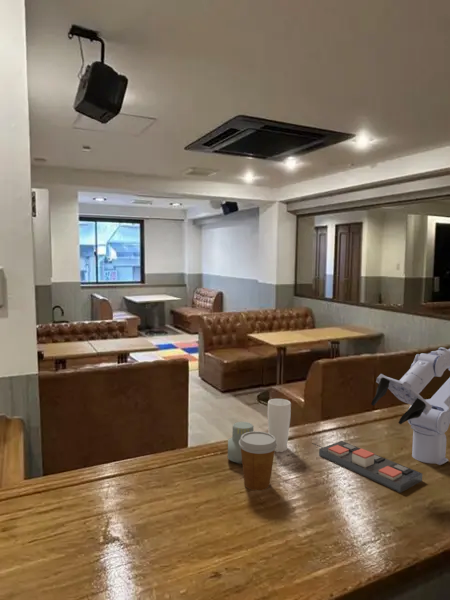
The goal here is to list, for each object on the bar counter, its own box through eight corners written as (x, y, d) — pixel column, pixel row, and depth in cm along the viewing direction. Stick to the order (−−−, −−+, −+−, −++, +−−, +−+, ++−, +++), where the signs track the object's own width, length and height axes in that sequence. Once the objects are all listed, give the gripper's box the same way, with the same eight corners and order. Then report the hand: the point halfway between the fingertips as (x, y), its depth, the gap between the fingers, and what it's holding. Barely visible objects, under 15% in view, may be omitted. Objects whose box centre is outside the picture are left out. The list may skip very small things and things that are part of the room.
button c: (387, 476, 112) (387, 465, 112) (401, 482, 109) (402, 471, 109) (378, 480, 110) (378, 470, 110) (392, 487, 107) (393, 476, 106)
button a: (336, 454, 125) (337, 444, 125) (348, 459, 122) (348, 449, 122) (327, 457, 123) (328, 448, 122) (339, 463, 119) (339, 453, 119)
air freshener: (258, 468, 118) (258, 432, 117) (227, 468, 118) (228, 432, 117) (255, 451, 129) (256, 418, 128) (227, 450, 129) (228, 417, 128)
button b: (361, 458, 118) (361, 448, 118) (373, 463, 115) (374, 453, 115) (351, 462, 116) (352, 451, 116) (364, 467, 113) (365, 457, 113)
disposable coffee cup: (255, 471, 116) (256, 427, 115) (283, 484, 109) (285, 438, 108) (229, 483, 109) (230, 437, 108) (258, 498, 103) (259, 449, 102)
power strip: (322, 442, 136) (323, 431, 135) (421, 484, 110) (422, 471, 110) (300, 450, 130) (301, 439, 129) (399, 497, 104) (400, 483, 104)
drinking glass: (288, 457, 125) (290, 406, 124) (265, 455, 126) (266, 404, 125) (290, 447, 131) (291, 399, 130) (267, 445, 133) (268, 397, 132)
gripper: (392, 357, 118) (364, 384, 110) (444, 388, 110) (418, 420, 102) (385, 374, 122) (359, 402, 115) (435, 405, 114) (409, 437, 107)
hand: (386, 411), depth 109 cm, fingers open, 7 cm apart
